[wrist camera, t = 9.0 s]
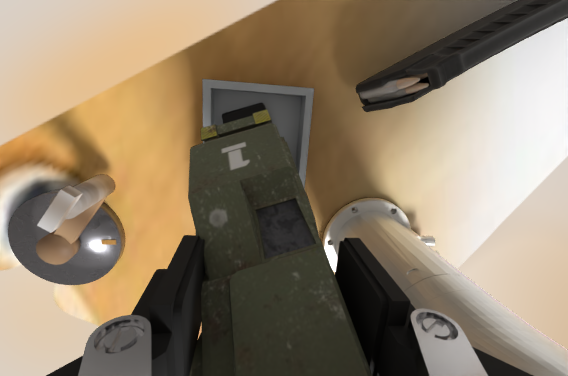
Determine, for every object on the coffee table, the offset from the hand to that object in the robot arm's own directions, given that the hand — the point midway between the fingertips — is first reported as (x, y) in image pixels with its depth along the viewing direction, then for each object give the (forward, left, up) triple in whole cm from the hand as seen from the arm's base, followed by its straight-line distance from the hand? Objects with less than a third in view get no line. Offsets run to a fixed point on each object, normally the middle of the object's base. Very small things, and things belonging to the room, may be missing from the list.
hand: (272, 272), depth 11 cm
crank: (+19, +7, -23) cm, 31 cm away
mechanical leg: (0, 0, -24) cm, 24 cm away
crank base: (+22, +11, -25) cm, 35 cm away
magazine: (-24, -15, -25) cm, 38 cm away
